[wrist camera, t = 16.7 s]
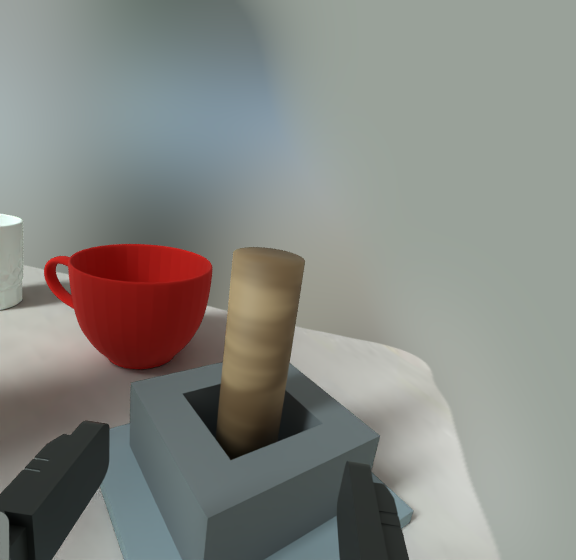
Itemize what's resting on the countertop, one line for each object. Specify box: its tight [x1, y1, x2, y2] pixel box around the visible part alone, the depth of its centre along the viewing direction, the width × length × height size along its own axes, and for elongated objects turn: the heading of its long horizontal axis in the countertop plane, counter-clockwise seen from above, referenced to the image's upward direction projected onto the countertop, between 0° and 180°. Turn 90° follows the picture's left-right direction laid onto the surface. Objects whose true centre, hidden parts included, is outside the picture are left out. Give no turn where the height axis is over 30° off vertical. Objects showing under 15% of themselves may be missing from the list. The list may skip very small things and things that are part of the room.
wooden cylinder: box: [216, 247, 305, 460], centre depth 24 cm, size 4×4×15 cm
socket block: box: [100, 362, 413, 560], centre depth 26 cm, size 16×16×6 cm
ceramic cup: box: [44, 244, 212, 369], centre depth 39 cm, size 13×17×10 cm
